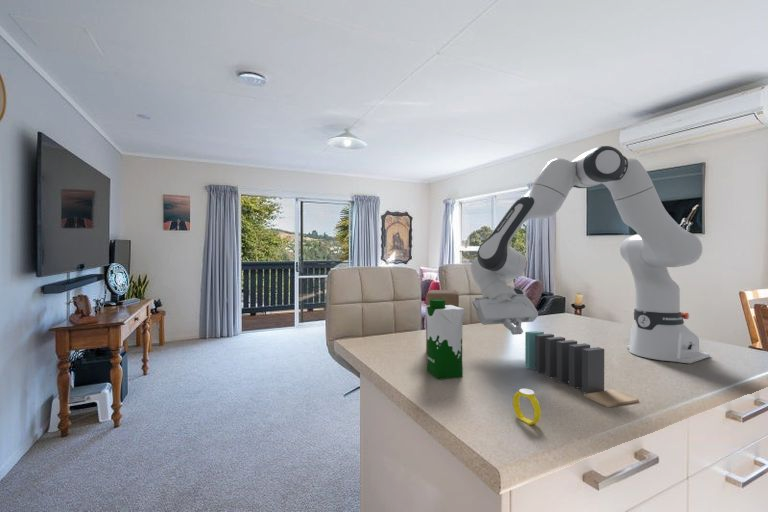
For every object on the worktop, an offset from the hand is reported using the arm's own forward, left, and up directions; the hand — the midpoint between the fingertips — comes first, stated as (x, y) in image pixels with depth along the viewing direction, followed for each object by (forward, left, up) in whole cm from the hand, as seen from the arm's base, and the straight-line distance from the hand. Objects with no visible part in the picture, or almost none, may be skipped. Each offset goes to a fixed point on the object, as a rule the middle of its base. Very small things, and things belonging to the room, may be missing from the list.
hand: (518, 333), depth 108 cm
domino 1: (0, +7, -8) cm, 11 cm away
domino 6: (0, +26, -8) cm, 27 cm away
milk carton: (+27, +4, -8) cm, 28 cm away
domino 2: (0, +10, -8) cm, 13 cm away
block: (+18, -14, -8) cm, 24 cm away
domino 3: (0, +14, -8) cm, 17 cm away
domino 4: (0, +18, -8) cm, 20 cm away
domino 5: (0, +22, -8) cm, 23 cm away
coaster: (0, +30, -8) cm, 31 cm away
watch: (+25, +33, -8) cm, 42 cm away
